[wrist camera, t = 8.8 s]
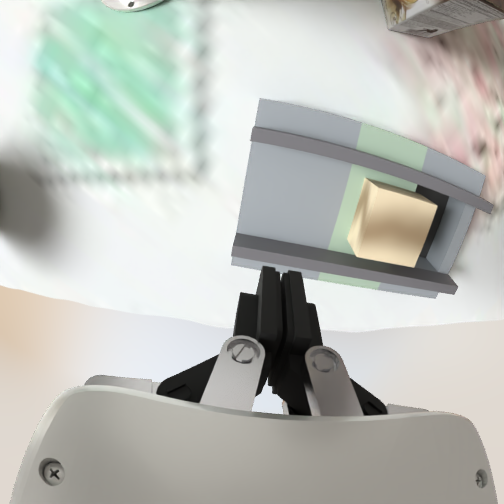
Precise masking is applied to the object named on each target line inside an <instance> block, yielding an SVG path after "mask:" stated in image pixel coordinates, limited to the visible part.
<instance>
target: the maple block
mask: <svg viewBox="0 0 504 504" xmlns="http://www.w3.org/2000/svg"><path fill="white" fill-rule="evenodd" d="M436 209H437V205H436V204H434V203H433V202H431V201H430V200H428V199H427V198H425V197H424V196H422V195H421V194H419V193H416V192H413V191H410V190H407V189H403V188H400V187H397V186H393V185H390V184H387V183H383V182H380V181H376V180H373V179H369V178H365V179H364V183H363V186H362V190H361V194H360V197H359V201H358V204H357V208H356V211H355V215H354V218H353V221H352V225H351V228H350V231H349V234H348V238H347V240H348V242H349V244H350V246H351V248H352V249H353V251H354V253H355V255H356V257H359V258H365V259H370V260H376V261H381V262H387V263H392V264H397V265H403V266H408V267H413V268H414V266H415V264H416V262H417V259H418V257H419V255H420V252H421V250H422V247H423V245H424V242H425V240H426V237H427V234H428V232H429V229H430V226H431V224H432V221H433V218H434V215H435V212H436Z"/></svg>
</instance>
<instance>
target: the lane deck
mask: <svg viewBox="0 0 504 504" xmlns="http://www.w3.org/2000/svg"><path fill="white" fill-rule="evenodd" d="M250 141H252V144H251V149H250V155H249V161H248V166H247V172H246V178H245V184H244V190H243V195H242V201H241V207H240V213H239V220H238V226H237V232H236V236H235V240H234V243H233V248H232V254H231V256H233V257H232V263H231V265H234V266H239V267H245V268H250V269H256V270H262V266H269V267H275V268H276V271H279V272H280V274H283V272H285V273H287V272H288V270H293V271H299V272H301V273H302V278H308V279H314V280H320V281H326V282H332V283H338V284H344V285H350V286H356V287H362V288H369V289H375V290H381V291H388V292H394V293H401V294H407V295H414V296H421V297H427V298H434V299H435V298H436V297H437V295H438V293H439V292H441V293H447V294H453V295H454V294H455V292H456V290H457V288H458V286H457V285H456V283H455V282H454V281H453V280H452V279H451V277H450V276H449V275H448V273H449V271H450V269H451V267H452V265H453V263H454V260H455V258H456V256H457V254H458V252H459V249H460V247H461V245H462V242H463V240H464V237H465V235H466V232H467V230H468V227H469V225H470V222H471V219H472V217H473V214H474V211H475V208H478V209H480V210H482V211H484V212H486V213H489V214H491V211H492V208H493V204H491V203H489V202H488V201H486V200H484V199H483V198H481V197H479V196H480V193H481V190H482V187H483V183H484V180H485V177H486V176H485V175H483V174H481V173H479V172H478V171H476V170H474V169H472V168H470V167H468V166H466V165H464V164H462V163H460V162H458V161H456V160H454V159H452V158H450V157H448V156H446V155H444V154H442V153H440V152H437V151H435V150H433V149H431V148H428V147H426V146H424V145H421V144H419V143H416V142H414V141H412V140H409V139H407V138H404V137H401V136H399V135H396V134H393V133H391V132H388V131H385V130H382V129H379V128H376V127H374V126H370V125H367V124H364V123H361V122H358V121H355V120H351V119H348V118H345V117H341V116H338V115H334V114H330V113H327V112H323V111H319V110H315V109H311V108H306V107H302V106H297V105H293V104H288V103H283V102H278V101H273V100H267V99H261V98H260V100H259V105H258V111H257V116H256V121H255V126H254V127H253V129H252V135H251V140H250ZM365 178H369V179H373V180H376V181H380V182H383V183H387V184H390V185H393V186H397V187H400V188H403V189H407V190H410V191H413V192H416V193H419V194H421V195H422V196H424V197H425V198H427V199H428V200H430V201H431V202H433V203H434V204H436V205H437V209H436V212H435V215H434V218H433V221H432V224H431V226H430V229H429V232H428V234H427V237H426V240H425V242H424V245H423V247H422V250H421V252H420V255H419V257H418V259H417V262H416V264H415V266H414V268H413V267H408V266H403V265H397V264H392V263H387V262H381V261H376V260H370V259H365V258H359V257H356V255H355V253H354V251H353V249H352V248H351V246H350V244H349V242H348V240H347V238H348V234H349V231H350V228H351V225H352V221H353V218H354V215H355V211H356V208H357V204H358V201H359V197H360V194H361V190H362V186H363V183H364V179H365Z"/></svg>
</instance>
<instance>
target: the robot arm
mask: <svg viewBox="0 0 504 504" xmlns="http://www.w3.org/2000/svg"><path fill="white" fill-rule="evenodd" d="M101 1H102V3H103V4H105V5H106V6H107V7H109V8H111V9H113V10H116V11H119V12H134V11H139V10H143V9H146V8H149V7H151V6H154V5H156V4H158V3H160V2H162V1H164V0H101ZM267 378H268V386H272V393H273V394H277V395H278V396H279V397H280V398H281V399H283V402H282V407H283V413H284V414H272V413H261V412H252V411H251V410H252V406H253V402H254V398H255V397H256V396H257V395H259V394H260V393H261V392H262V389H263V386H264V385H265V383H266V380H267ZM10 504H498V502H497V496H496V491H495V486H494V481H493V477H492V472H491V469H490V465H489V461H488V458H487V455H486V452H485V449H484V446H483V443H482V440H481V438H480V436H479V434H478V432H477V430H476V428H475V427H474V425H473V423H472V422H471V421H470V420H469V419H467V418H465V417H463V416H461V415H457V414H454V413H449V412H435V411H428V410H426V409H421V408H413V407H405V406H399V405H393V404H388V405H387V406H385V405H384V404H383V403H382V402H381V401H380V400H379V399H378V398H376V397H375V396H373V395H372V394H371V393H370V392H368V391H367V390H365V389H364V388H363V387H361V386H360V385H359V384H357V383H356V382H355V381H353V380H352V379H351V378H349V375H348V372H347V370H346V367H345V365H344V363H343V360H342V358H341V356H340V355H339V354H338V353H337V352H336V351H335V350H333V349H331V348H329V347H326V346H323V343H322V337H321V332H320V326H319V321H318V316H317V311H316V306H315V304H312V303H307V302H306V296H305V290H304V284H303V278H302V273H301V272H299V271H293V270H288V272H287V273H285V272H283V274H282V277H281V281H280V272H279V271H276V268H275V267H269V266H262V270H261V274H260V278H259V283H258V287H257V292H256V295H254V294H248V293H242V292H240V297H239V302H238V308H237V313H236V319H235V326H234V333H233V337H231V338H229V339H228V340H226V341H225V343H224V344H223V346H222V349H221V351H220V354H219V355H216V356H214V357H212V358H210V359H208V360H206V361H204V362H202V363H200V364H198V365H196V366H194V367H192V368H190V369H187V370H185V371H183V372H181V373H179V374H176V375H174V376H172V377H170V378H167V379H166V380H164V381H163V382H161V383H157V382H152V380H151V379H136V378H125V377H115V376H105V375H96V376H93V377H91V378H89V379H88V380H87V381H86V383H85V385H84V386H78V387H73V388H70V389H67V390H65V391H63V392H62V393H60V394H59V395H58V396H57V397H56V398H55V399H54V400H53V402H52V403H51V404H50V406H49V407H48V409H47V410H46V412H45V413H44V415H43V417H42V419H41V420H40V422H39V424H38V426H37V428H36V430H35V432H34V434H33V437H32V439H31V441H30V444H29V446H28V448H27V451H26V453H25V455H24V458H23V461H22V464H21V467H20V470H19V472H18V475H17V478H16V482H15V485H14V488H13V492H12V497H11V500H10Z"/></svg>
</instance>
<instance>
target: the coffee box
mask: <svg viewBox="0 0 504 504" xmlns="http://www.w3.org/2000/svg"><path fill="white" fill-rule="evenodd" d="M381 1H382V5H383V9H384V13H385V18H386V22H387V27H388V30H393V31H398V32H404V33H409V34H413V35H418V36H422V37H427V38H431V37H433V36H436V35H439V34H443V33H446V32H449V31H452V30H455V29H459V28H463V27H467V26H471V25H475V24H479V23H484V22H489V21H494V20H500V19H504V0H381Z"/></svg>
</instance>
